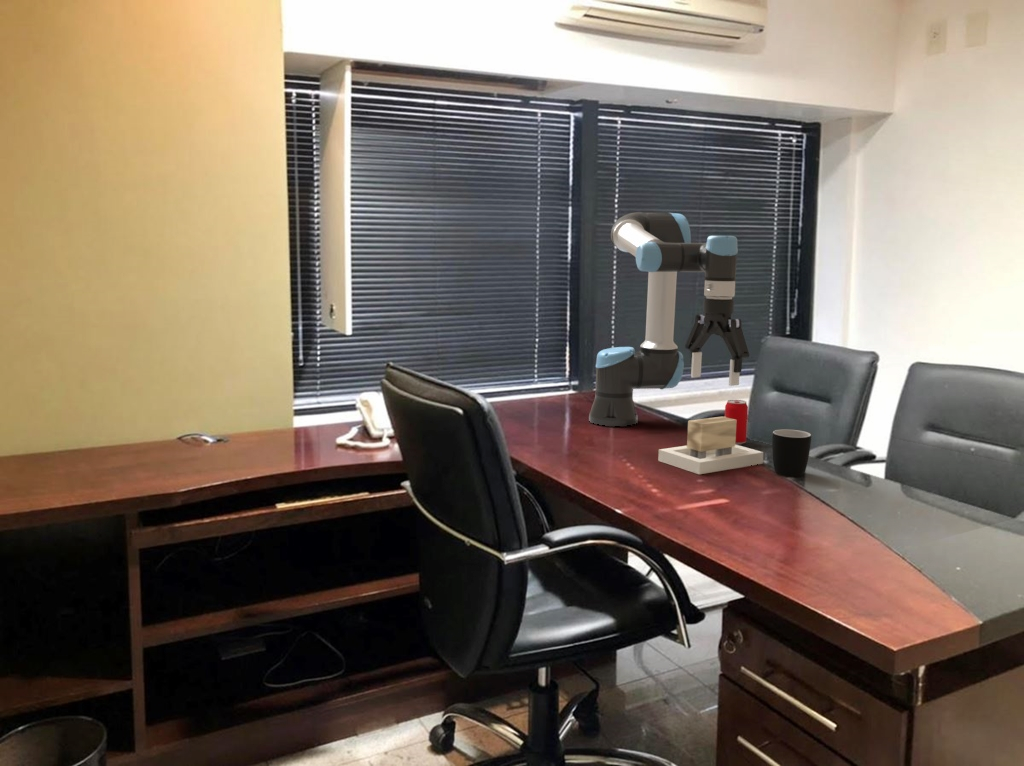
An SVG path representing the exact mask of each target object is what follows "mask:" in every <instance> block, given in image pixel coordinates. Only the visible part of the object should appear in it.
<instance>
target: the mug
mask: <svg viewBox="0 0 1024 766" xmlns="http://www.w3.org/2000/svg"><path fill="white" fill-rule="evenodd" d="M771 438H772V439H771V440H772V441H771V442H772V444H771V445H772V450H771V451H772V463H773V468H774V472H775V473H776V474H777V475H780V476H783V477H788V478H789V477H792V478H795V477H796V478H797V477H801V476H804V474H805V472H806V469H807V466H808V461H809V456H810V450H811V444H812V434H811V433H810V432H807V431H804V430H796V429H783V428H782V429H775V430H773V431H772V437H771Z"/></svg>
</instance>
